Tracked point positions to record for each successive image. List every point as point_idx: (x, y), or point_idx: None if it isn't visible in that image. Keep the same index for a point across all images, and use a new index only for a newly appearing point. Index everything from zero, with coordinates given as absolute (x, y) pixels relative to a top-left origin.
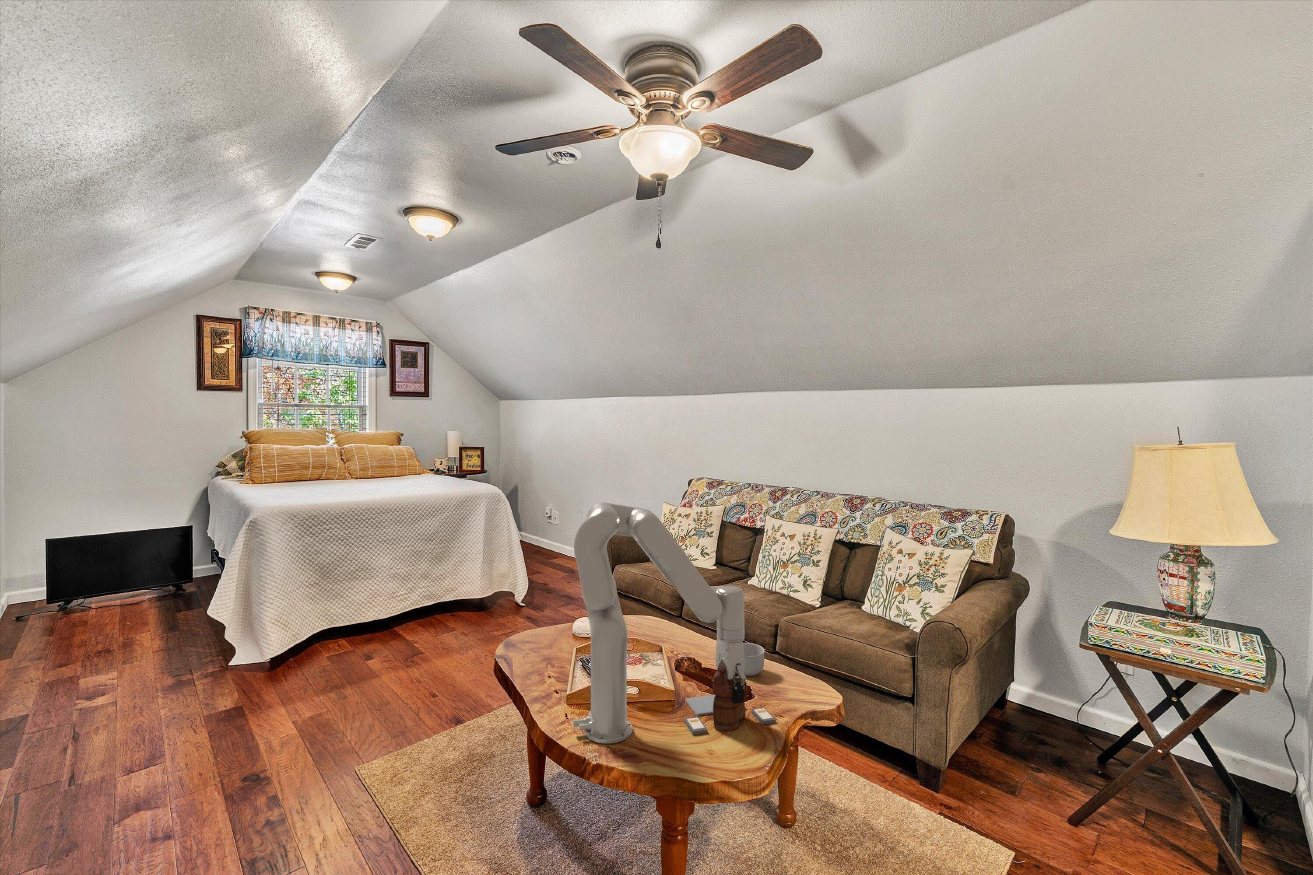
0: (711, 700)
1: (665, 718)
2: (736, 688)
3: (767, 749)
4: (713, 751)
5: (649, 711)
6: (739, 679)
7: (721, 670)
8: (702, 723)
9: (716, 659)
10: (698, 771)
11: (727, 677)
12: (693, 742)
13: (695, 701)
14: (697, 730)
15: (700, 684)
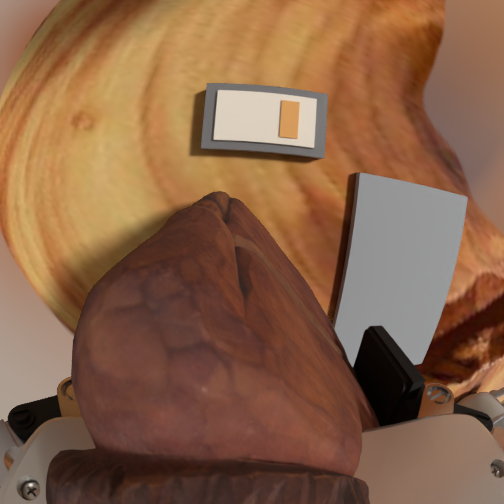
0: (421, 281)
1: (372, 54)
2: (65, 389)
3: (65, 305)
4: (82, 131)
5: (426, 43)
6: (7, 444)
7: (64, 482)
8: (257, 148)
9: (494, 479)
10: (32, 71)
11: (63, 426)
12: (157, 76)
13: (441, 220)
14: (205, 103)
15: (497, 290)
